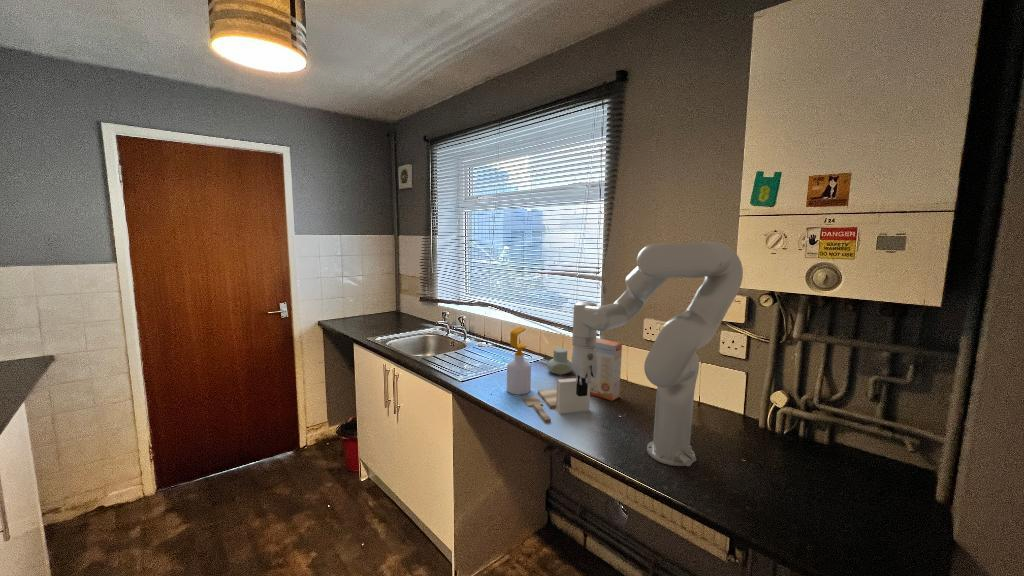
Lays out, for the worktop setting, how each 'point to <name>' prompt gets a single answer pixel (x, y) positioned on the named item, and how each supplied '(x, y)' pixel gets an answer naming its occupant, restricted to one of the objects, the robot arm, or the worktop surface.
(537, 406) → the wooden turner
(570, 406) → the ceramic tile
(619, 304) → the robot arm
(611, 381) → the cracker box
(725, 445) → the worktop surface
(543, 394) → the cork board
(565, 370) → the air freshener
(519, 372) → the soap bottle
